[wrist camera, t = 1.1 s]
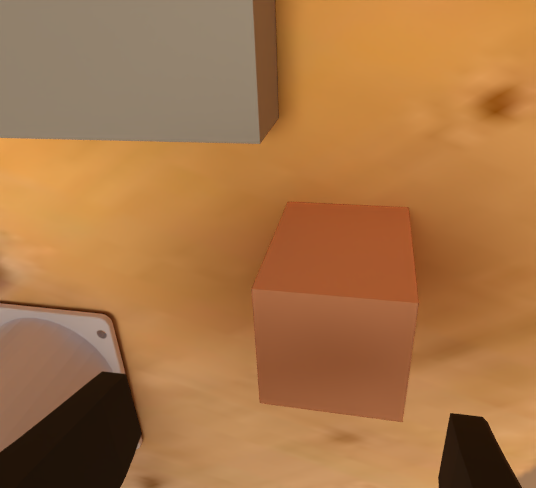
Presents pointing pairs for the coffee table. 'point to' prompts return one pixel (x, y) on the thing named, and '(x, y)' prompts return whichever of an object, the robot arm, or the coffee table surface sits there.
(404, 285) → the terracotta block
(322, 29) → the coffee table surface
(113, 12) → the gray block
